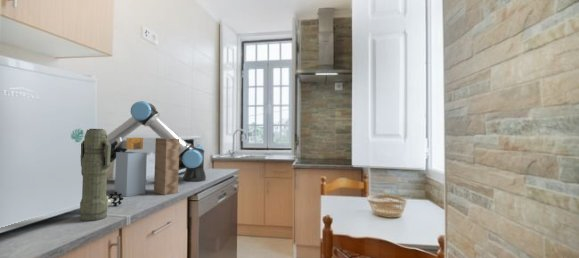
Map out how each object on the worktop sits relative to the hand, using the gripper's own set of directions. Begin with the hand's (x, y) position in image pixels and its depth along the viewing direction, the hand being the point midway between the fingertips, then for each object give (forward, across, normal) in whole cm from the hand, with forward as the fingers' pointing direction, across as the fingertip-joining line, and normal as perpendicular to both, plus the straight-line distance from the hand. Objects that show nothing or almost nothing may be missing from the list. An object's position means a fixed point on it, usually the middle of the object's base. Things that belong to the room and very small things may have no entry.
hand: (125, 139), depth 157 cm
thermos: (+18, +30, -44) cm, 56 cm away
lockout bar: (0, 0, -5) cm, 5 cm away
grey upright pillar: (-8, 0, -28) cm, 30 cm away
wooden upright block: (+2, -13, -34) cm, 37 cm away
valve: (+11, +21, -40) cm, 46 cm away
